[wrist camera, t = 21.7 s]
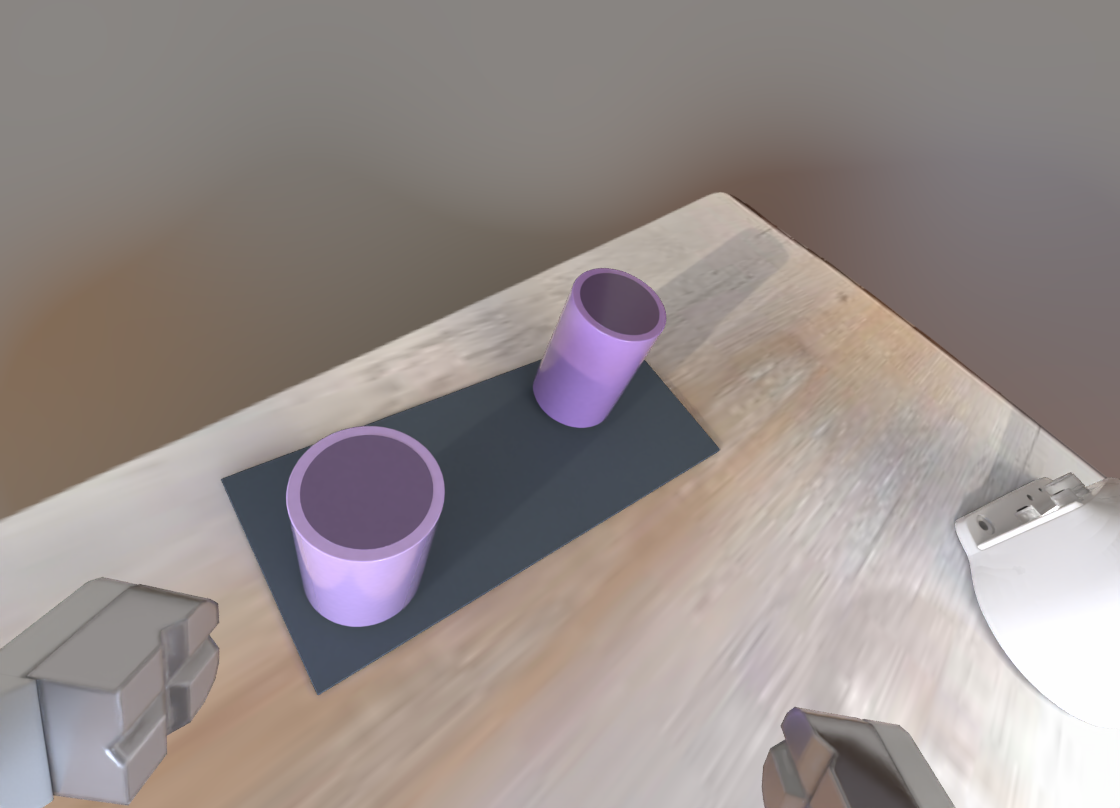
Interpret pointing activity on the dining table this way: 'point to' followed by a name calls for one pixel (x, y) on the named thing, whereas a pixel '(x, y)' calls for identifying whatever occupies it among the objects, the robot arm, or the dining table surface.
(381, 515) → the lilac tumbler
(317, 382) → the dining table surface
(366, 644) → the placemat
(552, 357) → the heather tumbler
